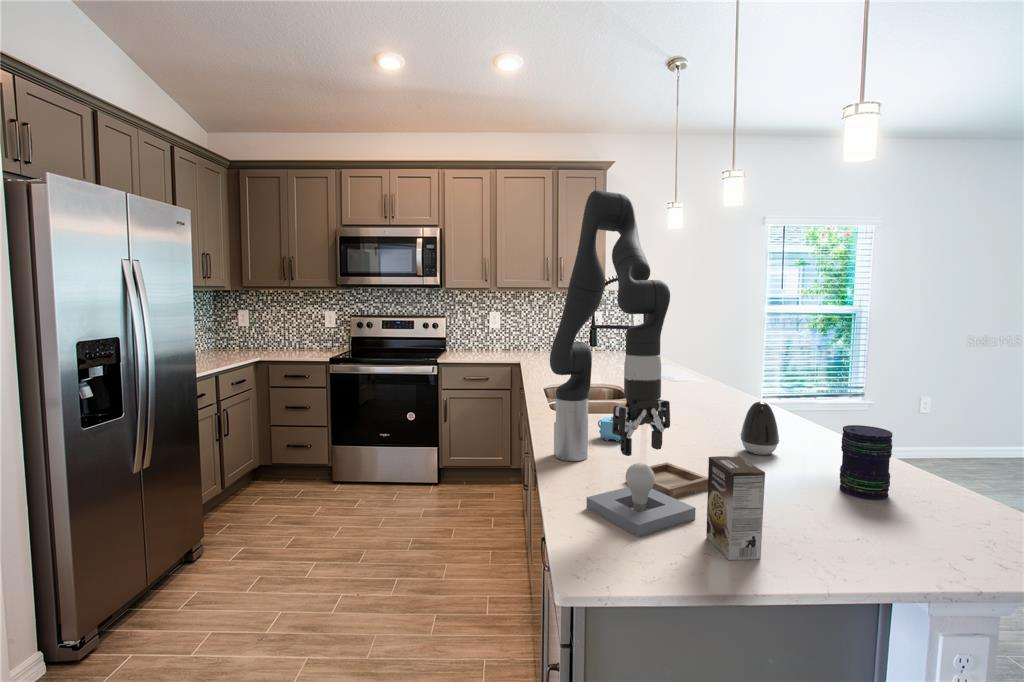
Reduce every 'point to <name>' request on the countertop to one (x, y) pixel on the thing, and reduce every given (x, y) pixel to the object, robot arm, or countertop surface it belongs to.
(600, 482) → the countertop surface
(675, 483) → the tray
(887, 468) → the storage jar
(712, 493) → the coffee box
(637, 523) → the socket block
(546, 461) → the countertop surface
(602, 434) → the teapot
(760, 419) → the black egg-shaped device
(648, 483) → the lightbulb
